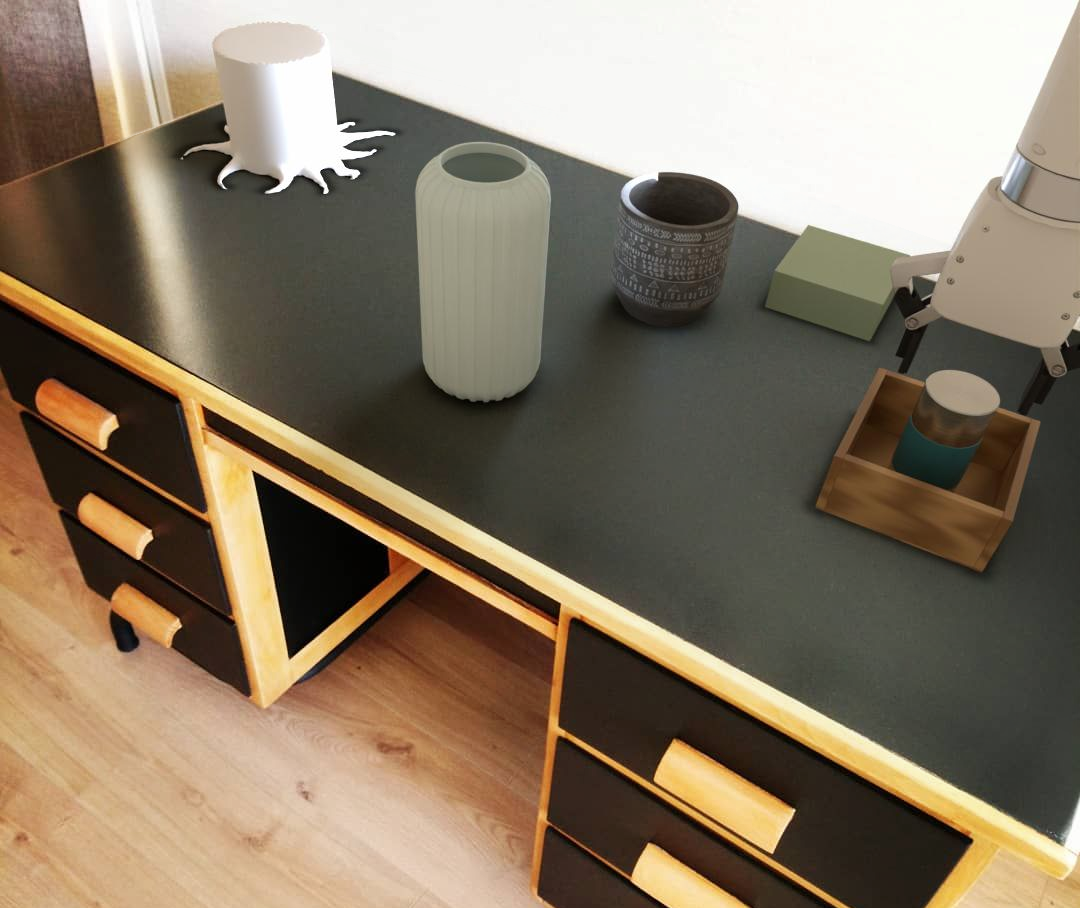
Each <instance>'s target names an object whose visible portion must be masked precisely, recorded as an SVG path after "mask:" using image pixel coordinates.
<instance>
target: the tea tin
mask: <svg viewBox="0 0 1080 908" xmlns="http://www.w3.org/2000/svg"><path fill="white" fill-rule="evenodd" d="M924 383H925V384H924V386H923V389H922V391H921V393H920V396H919V398H918V400H917V402H916V405H915V407H914V409H913V411H912V412H911V415H910V417H909V419H908V421H907V424H906V426H905V428H904V431H903V433H902V435H901V438H900V440H899V442H898V444H897V447H896V449H895V451H894V454H893V456H892V460H891V462H890V464H889V466H888V469H889V470H892V471H895V472H898V473H900V474H903V475H906V476H909V477H911V478H914V479H917V480H919V481H922V482H925V483H928V484H930V485H933V486H936V487H938V488H941V489H944V490H947V491H949V492H952V493H954V492H955V490H956V488H957V486H958V484H959V483H960V481H961V479H962V477H963V476H964V474H965V472H966V470H967V468H968V466H969V464H970V462H971V460H972V458H973V456H974V454H975V453H976V451H977V449H978V447H979V445H980V443H981V441H982V439H983V436H984V434H985V432H986V430H987V428H988V426H989V424H990V422H991V421H992V419H993V417H994V415H995V413H996V411H997V409H998V407H999V408H1000V405H1001V398H1000V394H999V392H998V391H997V389H996V388H995V387H994V386H993V385H992V384H991V383H989V382H988V381H986V379H984V378H982V377H980V376H978V375H975V374H973V373H971V372H966V371H962V370H956V369H944V370H938V371H936V372H933V373H931V374H930V375H929V376H928V377H927V378H926V380H925V382H924Z"/></svg>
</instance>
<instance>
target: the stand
mask: <svg viewBox="0 0 1080 908" xmlns="http://www.w3.org/2000/svg"><path fill="white" fill-rule="evenodd" d="M909 256H911V255H910V254H907V253H904V252H902V251H898V250H894V249H891V248H887V247H884V246H880V245H877V244H874V243H870V242H867V241H863V240H860V239H857V238H853V237H850V236H847V235H845V234H844V235H843V234H841V233H836V232H833V231H830V230H826V229H823V228H820V227H816V226H813V225H810V224H808V225H807V226H806V227H805V228H804V230H803V231H802V233H801V234H800V236H798V238H797V240H796V241H795V242H794V243H793V245H792V246H791V248H790V249H789V250H788V251H787V252H786V254H785V256H784V257H783V258H782V259H781V261H780V263H779V264H778V265H777V266H776V267H775V269H774V271H773V275H772V277H771V283H770V286H769V289H768V294H767V297H766V301H765V304H764V308H767V309H771V310H773V311H776V312H779V313H782V314H785V315H789V316H791V317H794V318H797V319H800V320H804V321H806V322H809V323H812V324H814V325H815V324H816V325H819V326H822V327H824V328H827V329H831V330H833V331H837V332H840V333H843V334H845V335H850V336H851V337H855V338H858V339H860V340H864V341H867V342H871V340H872V338H873V336H874V335H875V333H876V331H877V328H878V327H879V325H880V323H881V321H882V320H883V318H884V316H885V315H886V312H887V311H888V308H889V307H890V305H891V303H892V301H893V300H894V295H895V293H894V288H893V284H892V278H891V272H890V269H891V267H892V265H893V263H894V262H895V260H896V259H897V258H902V257H909Z"/></svg>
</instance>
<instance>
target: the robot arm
mask: <svg viewBox="0 0 1080 908" xmlns="http://www.w3.org/2000/svg"><path fill="white" fill-rule="evenodd" d="M890 272H891V278H892V284H893V288H894V293H895V295H894V297H893V300H894V302H895V304H896V306H897V308H898V309H899V312H900V313H901V315H902V317H903V318H904V323H903V324H904V326H905V329H904V333H903V335H902V338H901V340H900V343H899V345H898V348H897V350H896V353H895V357H898V358H901V359H902V360H901V362H900V365H899V368H898V370H897V373H898V374H901V375H904V374H908V371H909V369H910V367H911V365H912V363H913V361H914V359H915V357H916V354H917V352H918V350H919V348H920V345H921V343H922V340H923V338H924V336H925V333H926V331H927V328H928V326H929V324H930V323H932V322H935V321H936V320H938V319H941V318H944V319H947V320H949V321H952V322H955V323H957V324H960V325H964V326H967V327H970V328H972V329H975V330H979V331H982V332H985V333H988V334H991V335H995V336H998V337H1001V338H1004V339H1007V340H1010V341H1013V342H1016V343H1020V344H1023V345H1025V346H1029V347H1034V348H1039V349H1040V353H1041V356H1042V358H1041V359H1040V361H1039V363H1038V365H1037V366H1036V368H1035V371H1034V372H1033V373H1032V376H1031V377H1030V379H1029V382H1028V383H1027V384H1026V387H1025V388H1024V391H1023V392H1022V395H1021V398H1020V401H1019V404H1018V408H1017V413H1018V414H1020V415H1023V416H1026V417H1027V416H1028V414H1029V412H1030V410H1031V408H1032V407H1033V404H1037V405H1039V406H1042V405H1043V404H1044V401H1046V398H1047V396H1048V395H1049V393H1050V392H1051V390H1052V388H1053V386H1054V384H1055V382H1056V381H1057V379H1058V378H1062V377H1064V376H1065V375H1066V374H1067V372H1068V373H1069V372H1071V371H1073V370H1076V369H1080V342H1078V343H1075V344H1072V345H1069V342H1068V337H1069V335H1071V332H1072V330H1073V329H1074V327H1075V325H1076V323H1077V321H1078V319H1079V318H1080V0H1078V2H1077V4H1076V7H1075V9H1074V11H1073V13H1072V16H1071V19H1070V21H1069V23H1068V25H1067V27H1066V30H1065V32H1064V34H1063V37H1062V39H1061V41H1060V44H1059V46H1058V47H1057V51H1056V53H1055V55H1054V57H1053V59H1052V62H1051V64H1050V66H1049V69H1048V71H1047V73H1046V76H1045V79H1044V80H1043V82H1042V85H1041V88H1040V89H1039V92H1038V93H1037V96H1036V99H1035V101H1034V103H1033V105H1032V107H1031V110H1030V112H1029V115H1028V117H1027V120H1026V121H1025V124H1024V126H1023V128H1022V130H1021V133H1020V134H1019V137H1018V140H1017V143H1016V145H1015V147H1014V149H1013V152H1012V154H1011V156H1010V159H1009V161H1008V163H1007V165H1006V168H1005V169H1004V172H1003V175H1002V176H1001V175H1000V176H995V177H992V178H991V179H990V180H989V181H988V182H987V184H986V185H985V187H984V188H983V190H982V191H981V192H980V193H979V195H978V197H977V199H976V200H975V202H974V203H973V206H972V207H971V209H970V210H969V212H968V214H967V216H966V218H965V220H964V222H963V224H962V226H961V228H960V230H959V233H958V235H957V236H956V238H955V241H954V242H953V245H952V246H951V249H950V250H945V251H936V252H931V253H930V252H929V253H922V254H916V255H910V256H909V257H902V258H897V259H896V260H895V262H894V263H893V265H892V267H891V269H890ZM938 274H939V275H938ZM929 275H938V278H937V280H936V283H935V285H934V288H933V292H932V293H930V294H928V295H926V296H924V297H923V298H921V296H920V294H919V292H918V290H917V289H916V287H915V285H914V283H913V278H914V277H923V276H929Z"/></svg>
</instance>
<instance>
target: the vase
mask: <svg viewBox="0 0 1080 908" xmlns="http://www.w3.org/2000/svg"><path fill="white" fill-rule="evenodd" d="M551 195H552V194H551V187H550V183H549V181H548V178H547V177H546V175H545V172H544V171H543V170H542V168H541V167H540V166H539V165H538V164H537V163H536V162H535V161H533V160H532V159H531V158H530V157H528V156H527V155H525V154H524V153H523V152H521V151H520V150H518V149H516V148H515V147H512V146H510V145H506V144H503V143H497V142H491V141H470V142H464V143H463V142H462V143H458V144H456V145H453V146H451V147H448V148H446V149H445V150H443V151H442V152H440V153H439V154H438V155H436V156H434V157H433V158H432V159H431V160H429V161H428V162H427V163H426V164H425V166H424V167H423V169H422V170H421V171H420V173H419V175H418V178H417V180H416V185H415V192H414V197H415V217H416V218H415V219H416V221H415V222H416V235H417V236H416V239H417V240H416V241H417V242H416V244H417V260H418V261H417V263H418V282H419V284H418V285H419V286H418V287H419V306H420V310H419V311H420V327H421V328H420V329H421V350H422V351H421V352H422V354H421V355H422V362H423V366H424V370H425V372H426V374H427V375H428V377H429V378H430V379H431V380H432V382H433V383H434V384H435V386H436V387H438V388H439V389H441V390H443V391H444V392H445V393H446V394H448V395H450V396H452V397H454V396H455V397H456V398H457V399H460V400H463V401H464V400H469V401H470V402H473V403H476V402H478V401H482V402H483V403H489V402H490V401H496V402H498V401H502V400H503V399H504V398H507V399H509V398H511V397H513V396H515V395H516V394H518V393H520V392H522V391H524V390H525V389H526V388H527V386H528V385H529V384H531V383H532V382H533V380H534V379H535V377H536V376H537V372H538V371H539V367H540V363H541V353H542V341H543V340H542V339H543V338H542V337H543V336H542V335H543V323H544V308H545V307H544V306H545V305H544V304H545V293H546V279H547V278H546V277H547V276H546V275H547V264H548V263H547V261H548V248H549V247H548V246H549V234H550V233H549V231H550V216H551V204H552V203H551V201H552V197H551Z"/></svg>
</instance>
